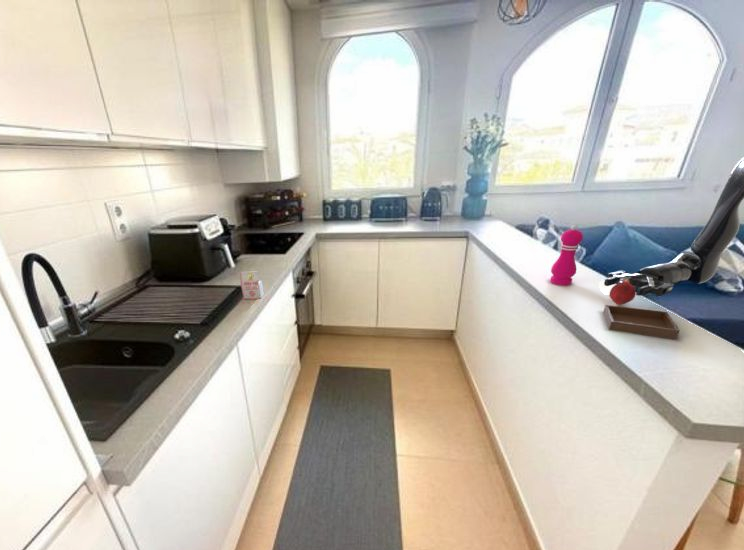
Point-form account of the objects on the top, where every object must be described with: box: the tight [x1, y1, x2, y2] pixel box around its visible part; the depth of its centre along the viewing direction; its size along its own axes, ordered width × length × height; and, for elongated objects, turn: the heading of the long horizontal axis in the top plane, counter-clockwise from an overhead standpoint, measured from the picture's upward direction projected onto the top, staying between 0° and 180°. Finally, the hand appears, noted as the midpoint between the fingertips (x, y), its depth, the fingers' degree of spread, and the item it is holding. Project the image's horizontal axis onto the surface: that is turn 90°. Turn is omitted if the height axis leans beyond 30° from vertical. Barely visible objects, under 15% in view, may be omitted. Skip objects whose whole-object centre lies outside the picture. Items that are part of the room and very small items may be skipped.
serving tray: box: [602, 304, 681, 340], centre depth 91 cm, size 13×11×2 cm
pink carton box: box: [239, 270, 265, 300], centre depth 125 cm, size 4×7×10 cm, turn 85°
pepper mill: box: [549, 224, 584, 286], centre depth 116 cm, size 7×7×20 cm
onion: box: [609, 279, 637, 306], centre depth 100 cm, size 6×6×8 cm
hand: (621, 287), depth 99 cm, fingers open, 8 cm apart
